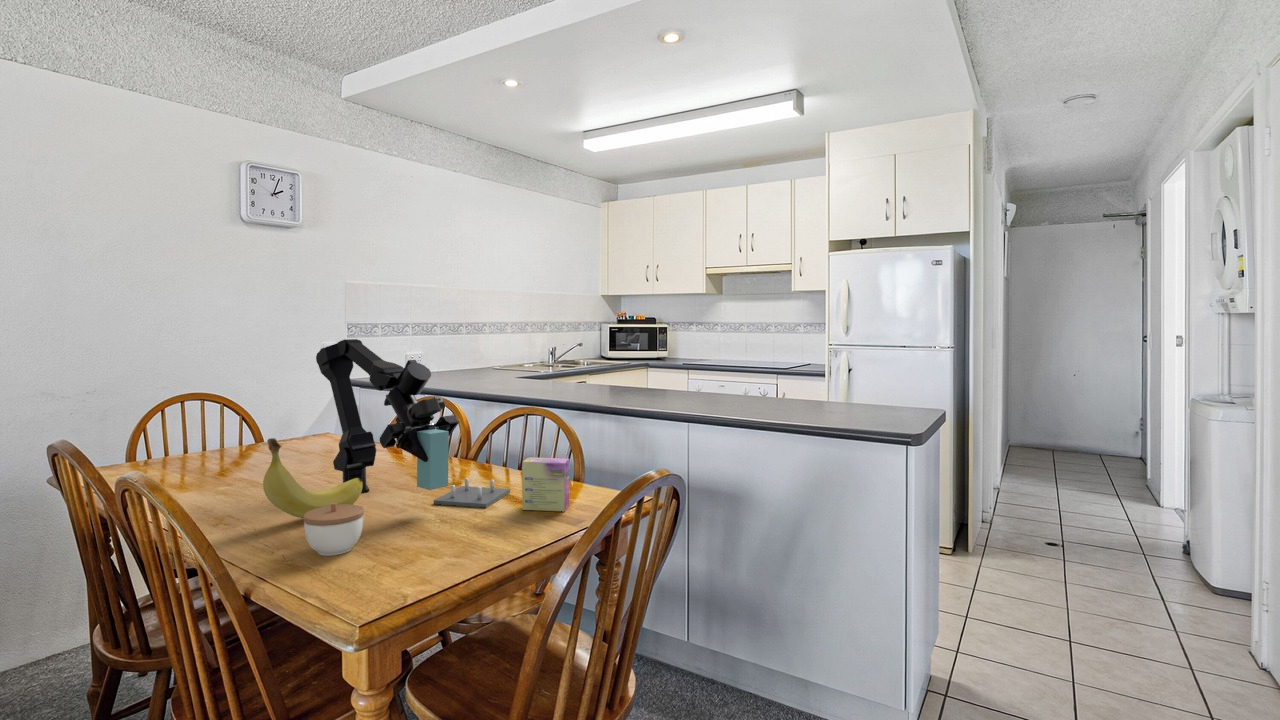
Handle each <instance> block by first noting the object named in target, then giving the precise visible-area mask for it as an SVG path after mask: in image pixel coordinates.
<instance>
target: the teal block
mask: <svg viewBox="0 0 1280 720" xmlns="http://www.w3.org/2000/svg"><path fill="white" fill-rule="evenodd" d="M417 435H418V440H419V442H420V444H421V446H422V447H423V449H424V451H425V453H426V455H427V457H428V461H427V462H424V461H422V460H421V459H419V458H417V457H416V458H417V460H416V488H421V489H423V490H428V491H432V490H436V489H437V490H438V489H441V488H446V487H449V457H450V456H449V447H450V444H449V440H450V437H449V431H444V430H438V429H432V430H424V431H417Z"/></svg>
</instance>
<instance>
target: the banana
mask: <svg viewBox="0 0 1280 720" xmlns="http://www.w3.org/2000/svg"><path fill="white" fill-rule="evenodd" d="M266 442H267V445H268V450H269V451H270V453H271V455H272V456H271V457H272V458H271V463H270V464H269V467H268V469H267V470H266V472H265V474H264V477H263V482H262V487H263V492H264V494H265V496H266V498H267V500H268V501H269V502H270V504H272V505H273V506H274V507H275V508H277V509H279V510H281V511H282V512H283V513H286V514H287V515H290V516H292V517H295V518H299V519H303V516H304V514H305V513H306V512H308V511H310V510H313V509H316V508H320V507H324V506H330V505H331V504H332V503H337V505H340V504H351V505H355V503H357V501H358V499H359V498H360V496H361V493H363V492H362V487H363V482H362V480H361V479H360V478H354V479H352V480H349V481H347V482H344V483H343V482H342V483H340V484H338V485H337V486H334V487H332V488H330V489H329V488H328V489H325V490H321V491H320V490H319V491H313V490H312V491H311V490H309V489H307V488H305V487H303V486H302V485H301V484H299V482H298V481H297V480H296V479H295V477H293V475H292V474H291V473H290V471H289V470H288V469H287V468H286V466H284V465H283V463H282V461H281V458H280V449H281V448H282V445H281V444H279V443H278V441H277V439H276V438H275V437H274V438H273V437H272V438H268V439H267V441H266Z"/></svg>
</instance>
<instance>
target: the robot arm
mask: <svg viewBox="0 0 1280 720" xmlns="http://www.w3.org/2000/svg"><path fill="white" fill-rule="evenodd" d="M315 360H316V363H317V365H318V368H319V370H320V374H321V375H323V377H324V378H325V379H327V380H328V381H329V383H330V387H331V391H332V395H333V400H334V403H335V407H336V411H337V415H338V420H339V423H340V428H341V433H342V435H341V437H340V439H339V443H338V449H339V451H338V453H337V455H336V456H335V457H334V459H333V461H332V464H333V468H334V470H336V471H338V472H339V471H340V472H342V483H344V482H347V481H349V480H352V479H354V478H360V479H361V480H362V482H363V487H362V492H361V493H367V492H370V488H369V486H368V485H367V467H373V466H374V465H375V461H376V457H377V455H376V454H377V448H376V447H377V444H376V442H375V440H374V434H373V432H372V431H367V430H366V429H365V428H364V427H363V425H362V420H361V416H360V412H359V409H358V405H357V401H356V398H355V393H354V388H353V385H352V382H351V381H352V380H351V374H352V371H353V369H354V364H356V365H357V366H358V367H359V368H361V369H362V370H363V371H365V373H366V374H368V376H369V382H370V383H371V384H372V385H373V387H374V388H375V389H376V391H380V392H381V391H388V390H390V391H389V392H388V393H387V394H386V395H385V399H384V402H383V405H384V406H385V407H387V406H391V407H392V409H393V411H394V413H395V415H396V416H397V417H396V418H395V421H396V423H390V424H387V425H386V427H385V429H383V432H382V433H381V435H380V436H379V443H380V445H381V446H382V448H383V449H388V448H394V447H396V449H401V450H402V451H404V452H406V453H409V454H411V455H412V456H414V457H416V458H419V459H421V460H422V461H424V462H427V461H428V457H427V455H426V453H425V451H424V449H423V447H422V446H421V444H420V442H419V440H418V435H417V431H424V430H432V429H438V430H444V431H449V436H451V435H452V434H453V432H454V431H455V429H456V428H457V426H458V425H459V423H460V421H459V420H458V418H457V417H456V415H452V414H450V415H443V416H440V417H439V418H438V420H437V421H436V422H435V423H431V421H433V420H434V418H435V416H434V415H436V414H437V413H441V412H442V410H443V409H444V408H445V407H446V404H445V401H444V399H443V398H442V396H440V395H438V396H433V397H432V398H427V399H421V400H419V401H418V400H417V398H416V396H418V395H420V393H422V391H423V390H424V388H425V386H426V385H427V383H429V379H430V378H431V376H432V372H431V370H430V368H429V367H427V366H425V365H424V364H422V363H419V362H418V361H417V360H416V359H408V360H407V362H406V363H405V365H404V366H402V365H399V364H397V363H394V362H390V361H386V360H384V359H383V358H381V357H380V356H378V354H376V353H375V352H373V351H372V350H371V349H369V348H368V347H367V346H366V345H365V344H363V342H362V341H361V340H360V339H357V338H356V339H355V338H351V339H342V340H340V341H338V342H336V343H334V344H332V345H329V346H326V347H322V348H321V349H319V351H318V352H317V353H316V356H315ZM395 445H396V446H395Z"/></svg>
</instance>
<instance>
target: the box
mask: <svg viewBox="0 0 1280 720" xmlns="http://www.w3.org/2000/svg"><path fill="white" fill-rule="evenodd" d="M570 460H571V459H570V458H565V457H564V458H563V457H562V458H561V457H560V458H559V457H534V456H533V457H532V456H531V457H530V456H529V457H526V459H524V460H523V461H522V463H521V464H522V469H521V470H522V477H521V479H522V480H521V483H522V484H521V486H522V487H521V488H522V490H521V493H522V494H521V497H522V499H521V500H522V501H521V502H522V504H521V505H522V510H523V511H544V512H545V511H547V512H561V511H562V513H565V512H566V510H567V509H568V508H569V507H570V476H571V474H570V466H571V465H570Z"/></svg>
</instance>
